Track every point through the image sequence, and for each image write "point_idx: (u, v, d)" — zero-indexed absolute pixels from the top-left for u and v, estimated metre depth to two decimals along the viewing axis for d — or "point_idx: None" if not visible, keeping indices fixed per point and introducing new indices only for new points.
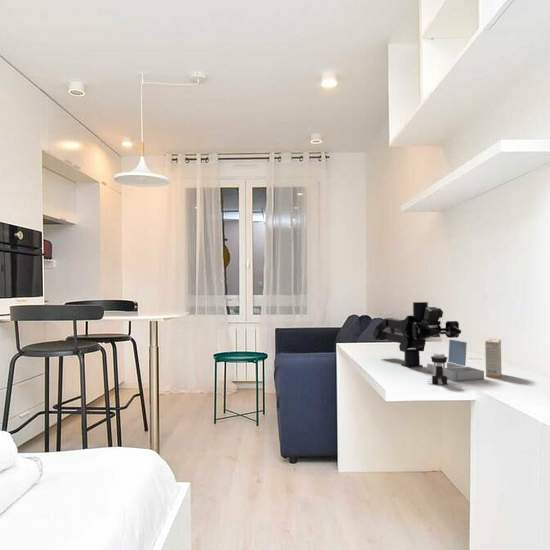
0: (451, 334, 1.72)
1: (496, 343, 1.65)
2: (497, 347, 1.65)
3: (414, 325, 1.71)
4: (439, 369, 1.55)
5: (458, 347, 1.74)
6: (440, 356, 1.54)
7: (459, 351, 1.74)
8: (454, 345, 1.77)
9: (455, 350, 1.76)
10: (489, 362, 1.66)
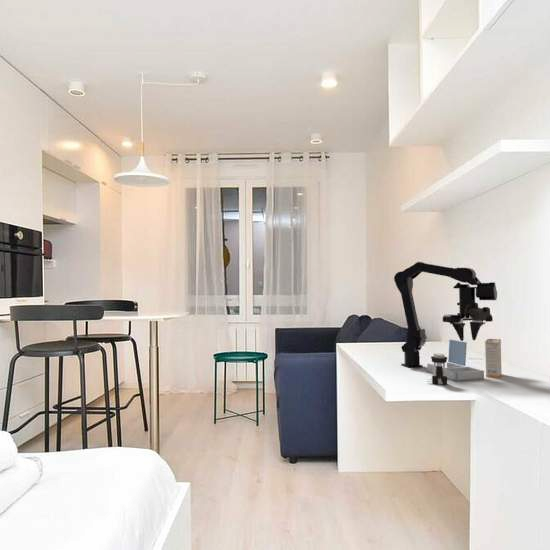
0: (471, 324, 1.79)
1: (496, 343, 1.65)
2: (497, 347, 1.65)
3: (450, 320, 1.72)
4: (439, 369, 1.55)
5: (458, 347, 1.74)
6: (440, 356, 1.54)
7: (459, 351, 1.74)
8: (454, 345, 1.77)
9: (455, 350, 1.76)
10: (489, 362, 1.66)
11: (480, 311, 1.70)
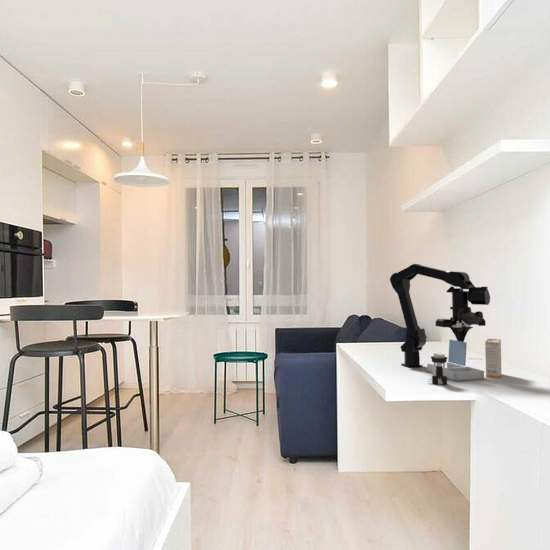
0: None
1: (496, 343, 1.65)
2: (497, 347, 1.65)
3: (442, 325, 1.72)
4: (439, 369, 1.55)
5: (458, 347, 1.74)
6: (440, 356, 1.54)
7: (459, 351, 1.74)
8: (454, 345, 1.77)
9: (455, 350, 1.76)
10: (489, 362, 1.66)
11: (473, 315, 1.69)
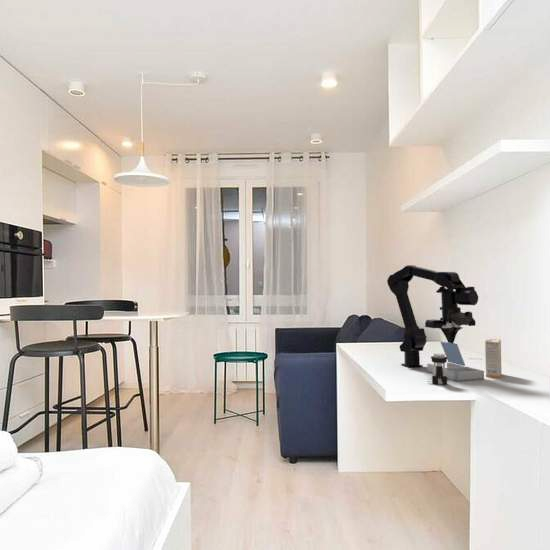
0: None
1: (496, 343, 1.65)
2: (497, 347, 1.65)
3: (432, 326, 1.70)
4: (439, 369, 1.55)
5: (451, 349, 1.74)
6: (440, 356, 1.54)
7: (454, 352, 1.73)
8: (447, 347, 1.76)
9: (450, 351, 1.75)
10: (489, 362, 1.66)
11: (462, 316, 1.68)
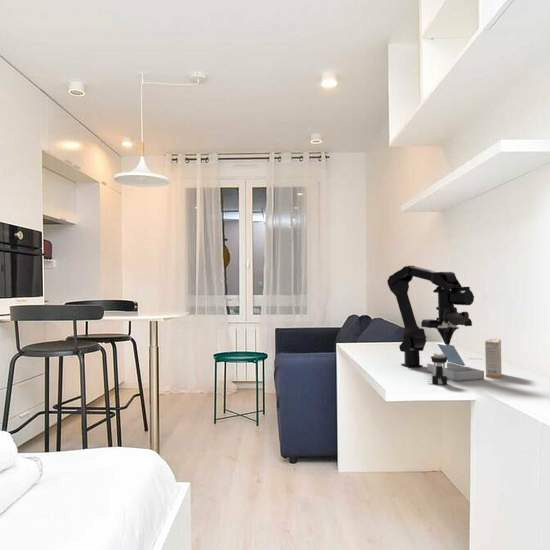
0: None
1: (496, 343, 1.65)
2: (497, 347, 1.65)
3: (428, 325, 1.70)
4: (439, 369, 1.55)
5: (449, 350, 1.73)
6: (440, 356, 1.54)
7: (452, 353, 1.73)
8: (444, 348, 1.76)
9: (448, 352, 1.75)
10: (489, 362, 1.66)
11: (458, 316, 1.67)
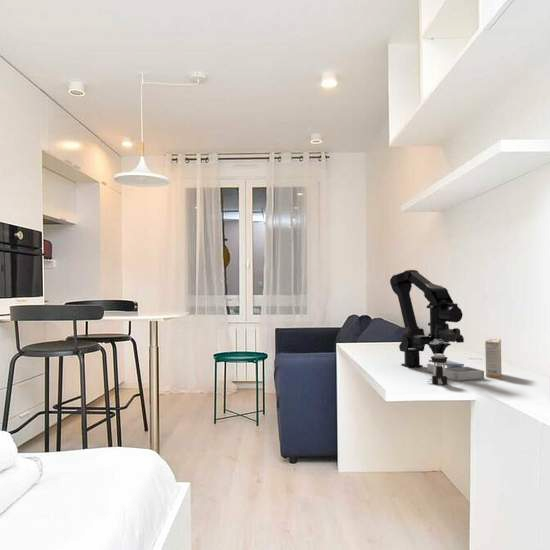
0: None
1: (496, 343, 1.65)
2: (497, 347, 1.65)
3: (419, 342, 1.69)
4: (439, 369, 1.55)
5: None
6: (440, 356, 1.54)
7: None
8: None
9: None
10: (489, 362, 1.66)
11: (450, 333, 1.66)
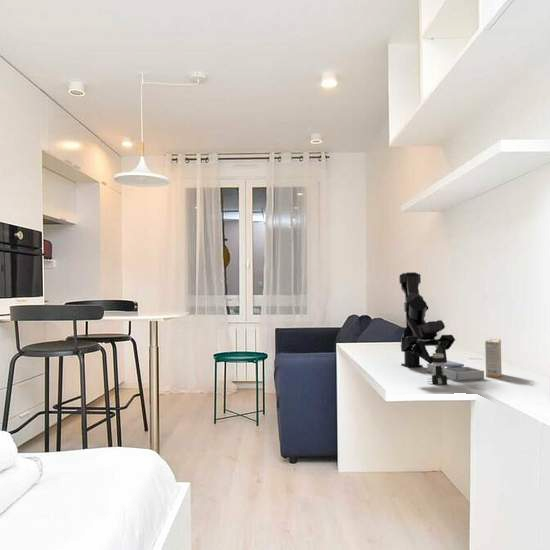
0: (437, 351, 1.61)
1: (496, 343, 1.65)
2: (497, 347, 1.65)
3: (407, 341, 1.57)
4: (438, 369, 1.55)
5: None
6: (439, 356, 1.54)
7: None
8: None
9: None
10: (489, 362, 1.66)
11: None
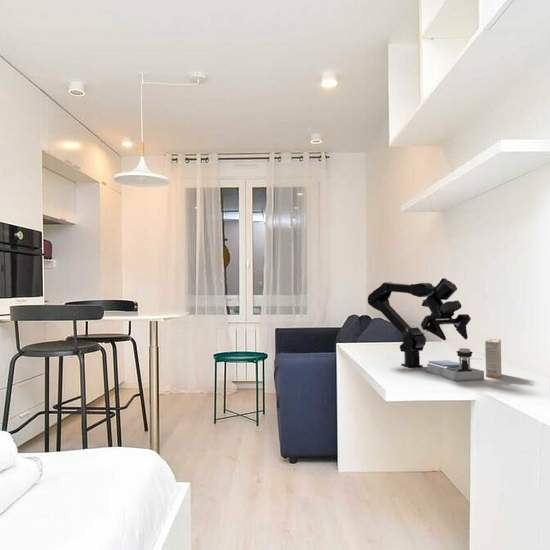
0: (458, 329, 1.75)
1: (496, 343, 1.65)
2: (497, 347, 1.65)
3: (426, 319, 1.70)
4: (465, 363, 1.63)
5: None
6: (466, 351, 1.63)
7: None
8: None
9: (443, 363, 1.74)
10: (489, 362, 1.66)
11: None
